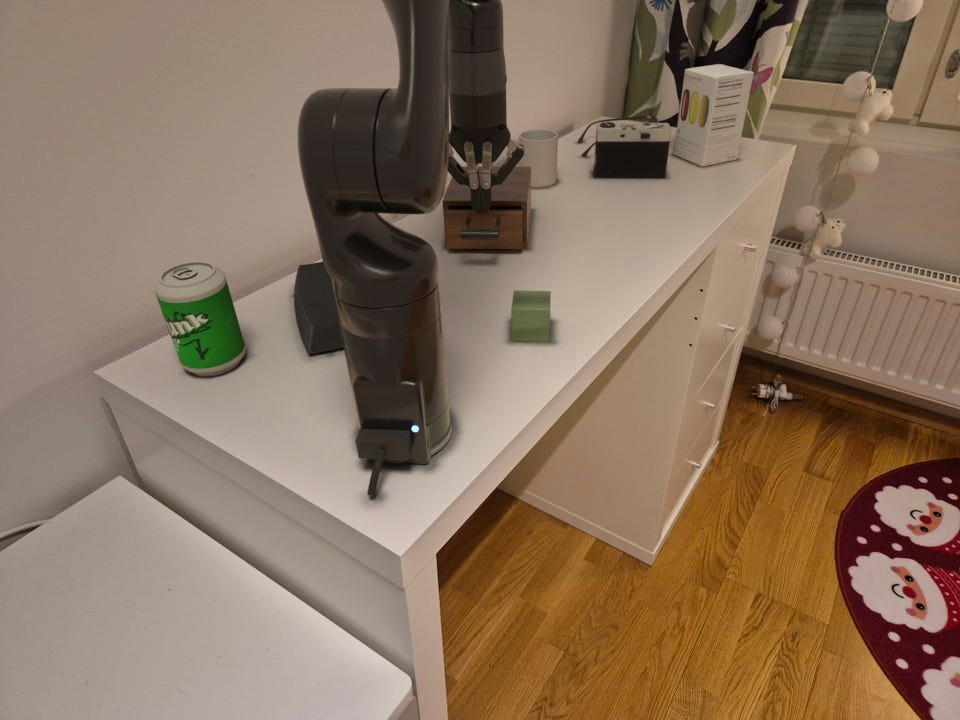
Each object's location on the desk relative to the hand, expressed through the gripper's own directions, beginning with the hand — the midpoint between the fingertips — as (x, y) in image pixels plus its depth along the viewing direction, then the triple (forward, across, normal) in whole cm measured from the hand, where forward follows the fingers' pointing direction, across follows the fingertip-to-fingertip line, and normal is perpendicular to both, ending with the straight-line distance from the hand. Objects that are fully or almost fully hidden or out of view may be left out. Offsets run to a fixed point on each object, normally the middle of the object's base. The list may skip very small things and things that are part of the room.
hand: (482, 211), depth 96 cm
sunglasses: (+8, +24, +54) cm, 60 cm away
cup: (+8, +6, +34) cm, 36 cm away
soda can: (+8, -30, -29) cm, 42 cm away
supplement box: (+8, +41, +48) cm, 64 cm away
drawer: (+7, 0, +6) cm, 9 cm away
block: (+8, +8, -20) cm, 23 cm away
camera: (+8, +25, +40) cm, 47 cm away
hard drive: (+8, -17, -16) cm, 25 cm away
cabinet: (+8, 0, +12) cm, 14 cm away
